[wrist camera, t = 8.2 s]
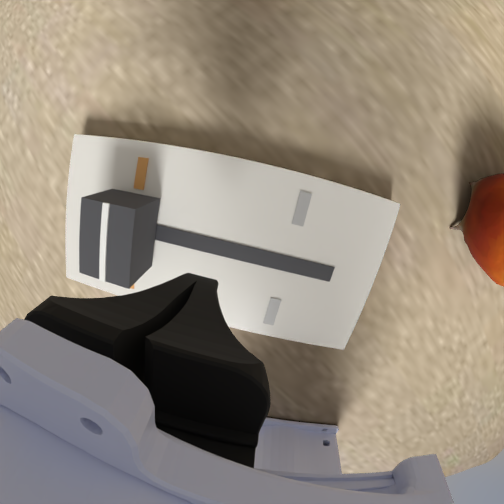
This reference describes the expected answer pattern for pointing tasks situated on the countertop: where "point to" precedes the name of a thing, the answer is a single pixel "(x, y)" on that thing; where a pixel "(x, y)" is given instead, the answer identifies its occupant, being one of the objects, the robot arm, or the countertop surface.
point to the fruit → (486, 225)
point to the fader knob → (117, 236)
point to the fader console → (243, 234)
